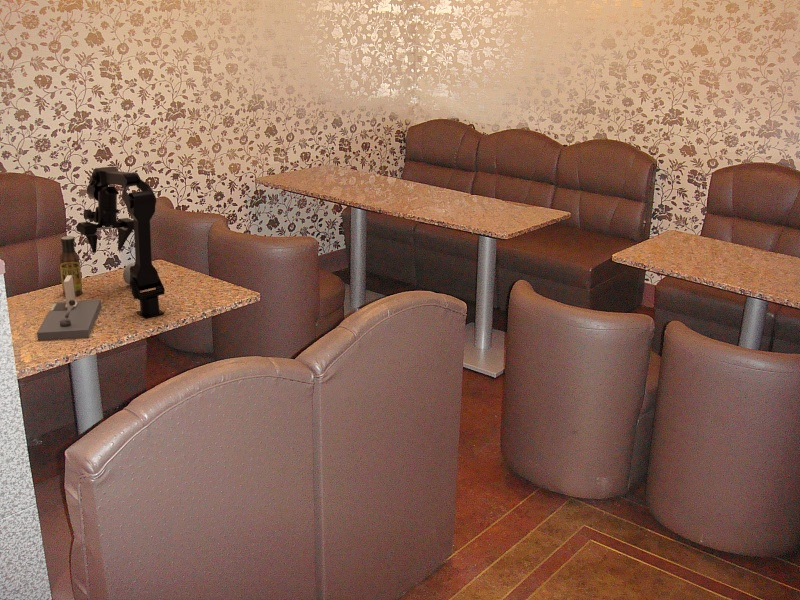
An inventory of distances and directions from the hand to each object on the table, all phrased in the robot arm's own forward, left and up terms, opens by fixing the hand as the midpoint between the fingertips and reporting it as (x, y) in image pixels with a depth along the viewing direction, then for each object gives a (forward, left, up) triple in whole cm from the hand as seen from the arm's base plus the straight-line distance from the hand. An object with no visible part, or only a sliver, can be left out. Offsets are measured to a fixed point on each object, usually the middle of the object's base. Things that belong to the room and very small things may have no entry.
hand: (107, 251), depth 263 cm
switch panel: (-17, +20, -15) cm, 30 cm away
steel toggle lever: (-24, +24, -10) cm, 36 cm away
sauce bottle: (+8, +10, -15) cm, 20 cm away
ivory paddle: (-10, +17, -12) cm, 23 cm away
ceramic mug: (+3, -12, -15) cm, 20 cm away
